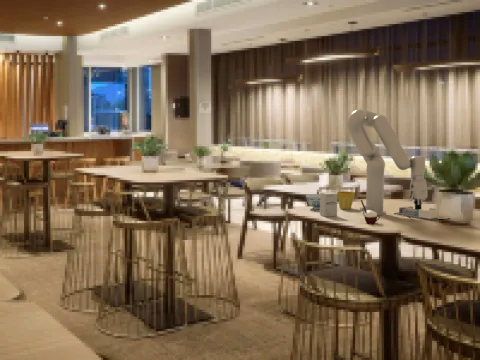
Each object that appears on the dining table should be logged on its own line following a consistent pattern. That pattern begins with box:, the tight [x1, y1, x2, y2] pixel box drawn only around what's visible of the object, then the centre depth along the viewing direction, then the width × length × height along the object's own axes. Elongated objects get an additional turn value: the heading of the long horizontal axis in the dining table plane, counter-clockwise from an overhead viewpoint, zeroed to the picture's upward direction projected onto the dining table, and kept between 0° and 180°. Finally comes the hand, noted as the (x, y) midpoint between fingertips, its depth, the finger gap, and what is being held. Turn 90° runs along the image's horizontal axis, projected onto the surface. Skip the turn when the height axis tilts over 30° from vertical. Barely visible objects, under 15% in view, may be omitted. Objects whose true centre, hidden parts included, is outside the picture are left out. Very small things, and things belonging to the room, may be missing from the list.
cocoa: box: [360, 199, 381, 225], centre depth 308 cm, size 10×6×12 cm
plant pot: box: [336, 190, 355, 210], centre depth 359 cm, size 10×10×10 cm
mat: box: [393, 212, 439, 222], centre depth 331 cm, size 14×27×1 cm, turn 32°
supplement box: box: [319, 191, 338, 218], centre depth 332 cm, size 7×7×13 cm
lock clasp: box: [419, 207, 437, 219], centre depth 323 cm, size 10×8×4 cm
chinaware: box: [305, 193, 320, 211], centre depth 358 cm, size 15×15×8 cm
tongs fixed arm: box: [398, 205, 419, 216], centre depth 335 cm, size 9×15×3 cm, turn 32°
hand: (418, 211), depth 334 cm, fingers closed
